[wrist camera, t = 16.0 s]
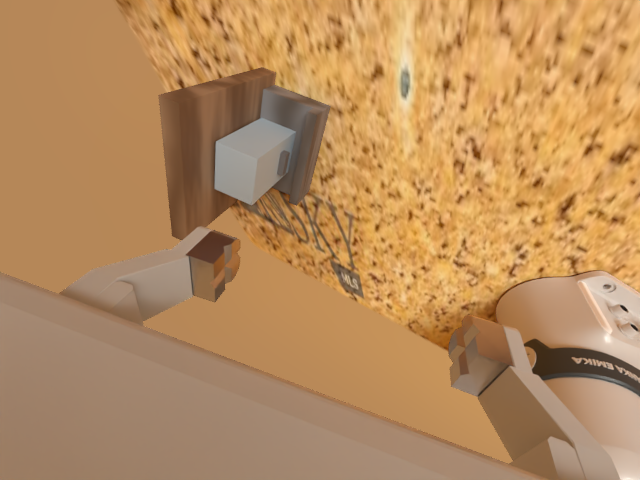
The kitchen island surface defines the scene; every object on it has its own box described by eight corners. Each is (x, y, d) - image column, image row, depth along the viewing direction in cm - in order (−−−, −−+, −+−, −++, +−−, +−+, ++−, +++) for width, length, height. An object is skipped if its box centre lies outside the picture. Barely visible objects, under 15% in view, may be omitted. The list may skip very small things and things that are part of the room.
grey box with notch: (301, 133, 40) (264, 162, 32) (293, 174, 43) (257, 208, 36) (261, 117, 40) (215, 141, 33) (256, 158, 44) (214, 188, 37)
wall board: (333, 93, 38) (264, 137, 25) (306, 198, 49) (247, 270, 35) (262, 67, 40) (158, 95, 26) (250, 175, 50) (172, 236, 36)
